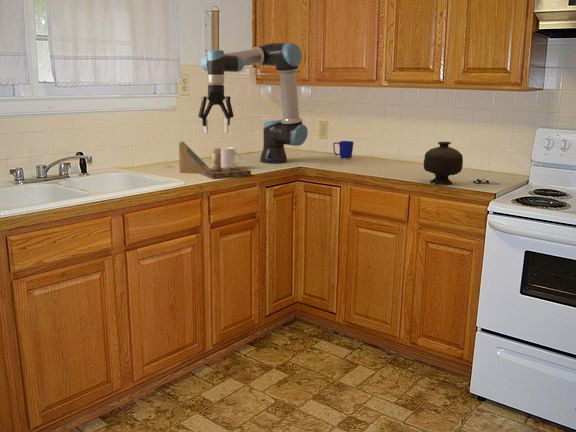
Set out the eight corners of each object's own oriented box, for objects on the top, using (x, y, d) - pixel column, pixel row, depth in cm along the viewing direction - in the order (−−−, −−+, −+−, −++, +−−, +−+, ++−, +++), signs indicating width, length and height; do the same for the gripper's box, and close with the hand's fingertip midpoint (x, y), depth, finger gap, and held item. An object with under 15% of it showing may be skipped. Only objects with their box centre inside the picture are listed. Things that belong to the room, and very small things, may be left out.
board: (238, 171, 290) (238, 166, 289) (250, 175, 278) (251, 170, 278) (201, 174, 279) (201, 169, 279) (213, 178, 268) (213, 173, 267)
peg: (218, 174, 279) (218, 148, 276) (222, 176, 276) (222, 149, 272) (210, 175, 277) (210, 148, 274) (214, 176, 273) (214, 149, 270)
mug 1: (238, 170, 293) (238, 149, 290) (215, 169, 295) (215, 148, 292) (242, 168, 301) (242, 147, 298) (220, 166, 303) (220, 146, 300)
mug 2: (333, 156, 351) (333, 140, 349) (352, 157, 349) (353, 141, 347) (332, 158, 343) (332, 141, 341) (352, 159, 342) (353, 142, 339)
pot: (415, 182, 267) (421, 139, 264) (427, 180, 282) (433, 139, 279) (453, 188, 258) (460, 143, 255) (463, 185, 273) (470, 143, 270)
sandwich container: (210, 174, 282) (210, 143, 278) (179, 173, 282) (178, 142, 278) (213, 171, 290) (213, 141, 286) (183, 170, 290) (182, 140, 287)
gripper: (234, 84, 275) (234, 131, 280) (190, 83, 263) (191, 132, 269) (241, 84, 269) (241, 132, 274) (196, 84, 257) (197, 134, 262)
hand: (216, 132), depth 271 cm, fingers open, 10 cm apart
